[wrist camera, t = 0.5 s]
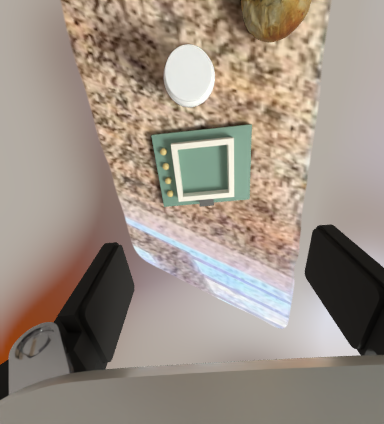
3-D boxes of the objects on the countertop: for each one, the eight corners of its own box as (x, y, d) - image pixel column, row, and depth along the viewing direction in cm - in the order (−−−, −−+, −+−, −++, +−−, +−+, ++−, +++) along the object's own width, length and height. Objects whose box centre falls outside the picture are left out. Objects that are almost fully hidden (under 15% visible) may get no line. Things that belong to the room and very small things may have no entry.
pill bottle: (218, 78, 28) (230, 66, 20) (195, 115, 31) (196, 119, 22) (184, 49, 27) (180, 21, 18) (162, 90, 29) (148, 83, 20)
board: (152, 134, 32) (149, 136, 29) (250, 124, 31) (254, 125, 29) (164, 204, 37) (162, 210, 35) (248, 196, 37) (251, 202, 34)
